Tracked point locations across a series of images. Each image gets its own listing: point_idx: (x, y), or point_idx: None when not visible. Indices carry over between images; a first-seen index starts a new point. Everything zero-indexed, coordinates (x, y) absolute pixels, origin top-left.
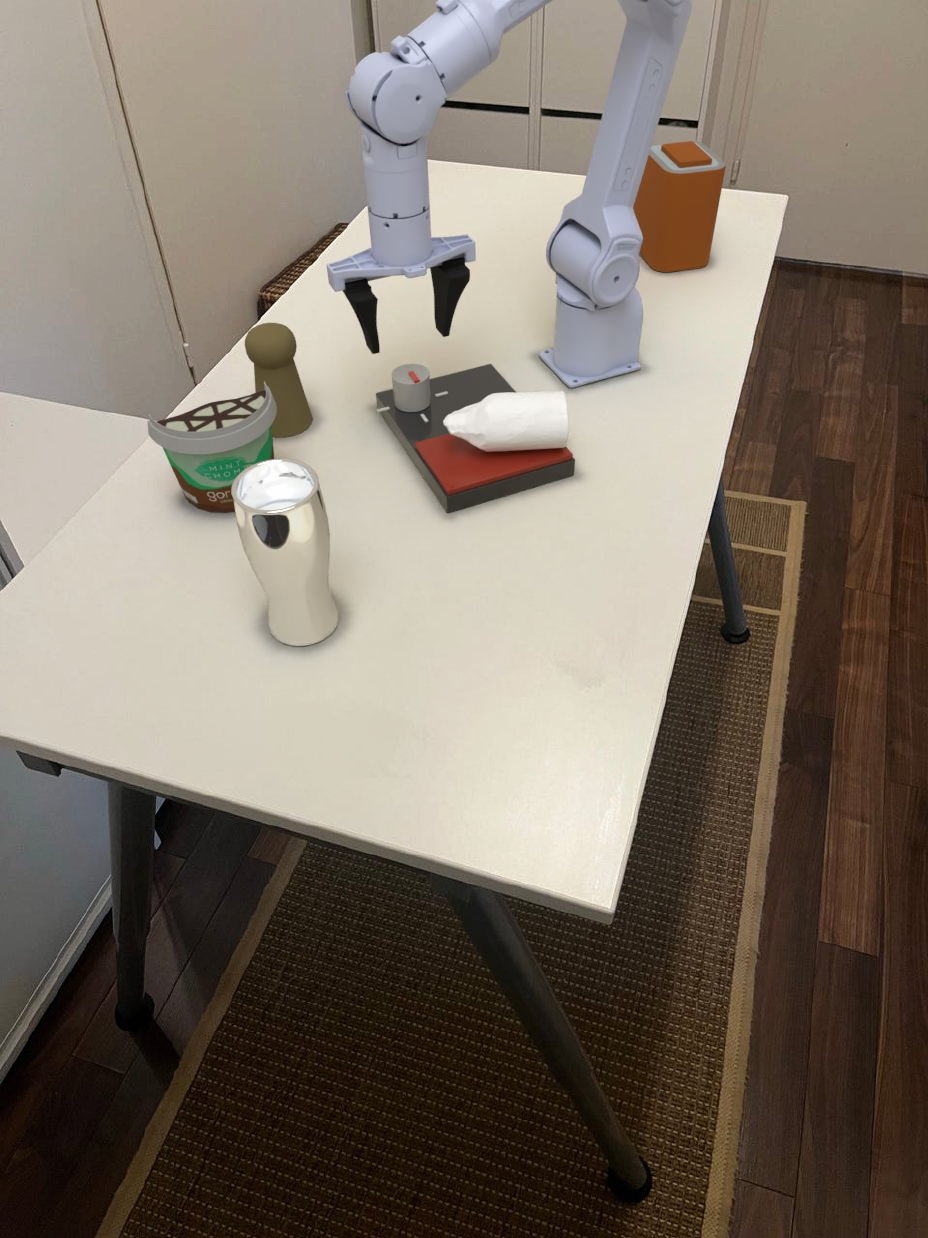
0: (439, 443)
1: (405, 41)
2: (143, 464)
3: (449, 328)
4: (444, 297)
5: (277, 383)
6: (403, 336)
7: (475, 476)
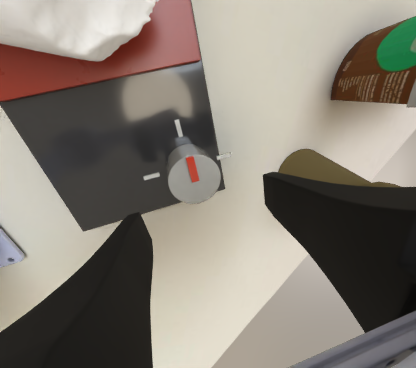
0: (165, 44)
1: None
2: (406, 132)
3: (122, 221)
4: (118, 284)
5: (349, 174)
6: (178, 282)
7: None
